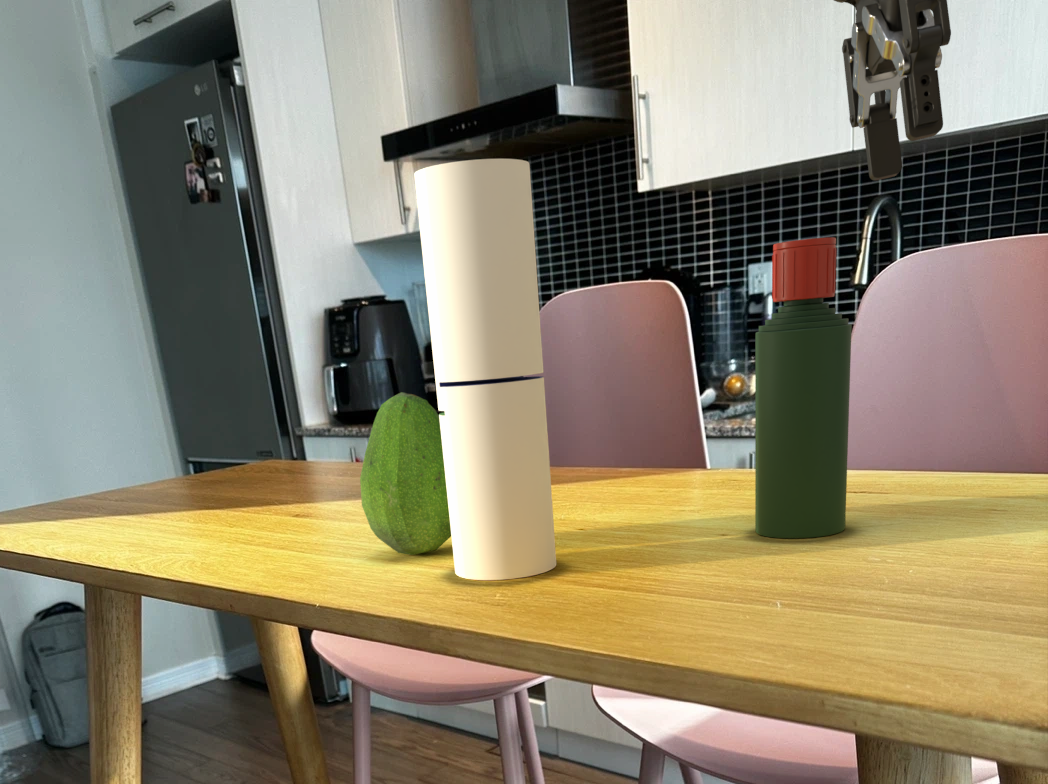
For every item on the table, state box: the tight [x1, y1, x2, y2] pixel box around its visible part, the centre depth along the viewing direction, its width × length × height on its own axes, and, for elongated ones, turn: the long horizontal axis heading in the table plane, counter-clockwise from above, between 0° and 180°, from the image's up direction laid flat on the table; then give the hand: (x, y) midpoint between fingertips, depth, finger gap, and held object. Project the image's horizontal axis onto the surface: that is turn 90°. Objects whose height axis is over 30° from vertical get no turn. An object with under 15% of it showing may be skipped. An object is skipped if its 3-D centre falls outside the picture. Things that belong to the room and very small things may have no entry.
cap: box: [771, 236, 837, 303], centre depth 70 cm, size 4×4×4 cm
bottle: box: [754, 298, 853, 539], centre depth 73 cm, size 6×6×19 cm
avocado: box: [359, 391, 452, 556], centre depth 78 cm, size 8×8×12 cm
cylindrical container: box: [413, 158, 557, 581], centre depth 68 cm, size 7×7×25 cm
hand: (904, 158), depth 72 cm, fingers open, 8 cm apart
